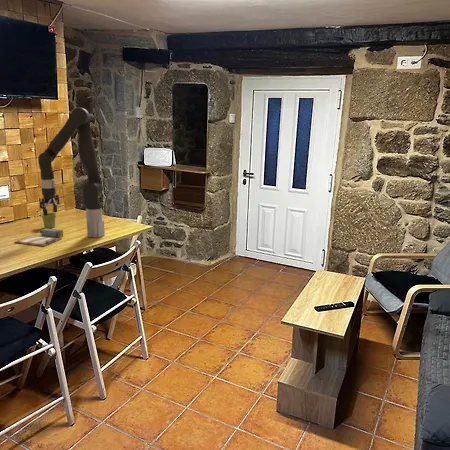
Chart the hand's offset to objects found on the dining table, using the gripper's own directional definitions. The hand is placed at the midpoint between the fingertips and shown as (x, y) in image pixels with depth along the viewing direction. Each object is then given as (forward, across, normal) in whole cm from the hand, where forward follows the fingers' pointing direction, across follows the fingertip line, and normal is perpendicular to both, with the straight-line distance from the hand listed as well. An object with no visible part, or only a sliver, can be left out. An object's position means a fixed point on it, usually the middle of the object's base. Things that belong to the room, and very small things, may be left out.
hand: (50, 213), depth 250 cm
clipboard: (+14, -11, +1) cm, 18 cm away
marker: (+14, 0, +1) cm, 14 cm away
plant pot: (+14, +16, +15) cm, 26 cm away
